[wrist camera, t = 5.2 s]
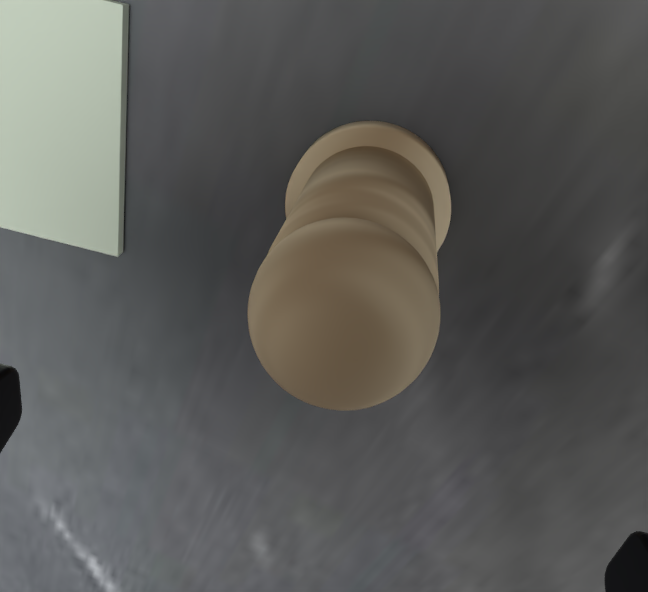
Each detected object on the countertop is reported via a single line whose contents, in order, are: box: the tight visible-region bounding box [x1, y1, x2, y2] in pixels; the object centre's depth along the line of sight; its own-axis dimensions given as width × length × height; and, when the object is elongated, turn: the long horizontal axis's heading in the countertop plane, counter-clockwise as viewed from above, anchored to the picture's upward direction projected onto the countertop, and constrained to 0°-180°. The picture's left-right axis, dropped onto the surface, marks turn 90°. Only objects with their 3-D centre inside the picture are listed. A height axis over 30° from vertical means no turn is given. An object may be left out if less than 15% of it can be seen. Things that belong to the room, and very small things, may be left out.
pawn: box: [247, 121, 451, 410], centre depth 14 cm, size 5×5×9 cm
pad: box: [0, 0, 129, 257], centre depth 18 cm, size 8×8×1 cm
